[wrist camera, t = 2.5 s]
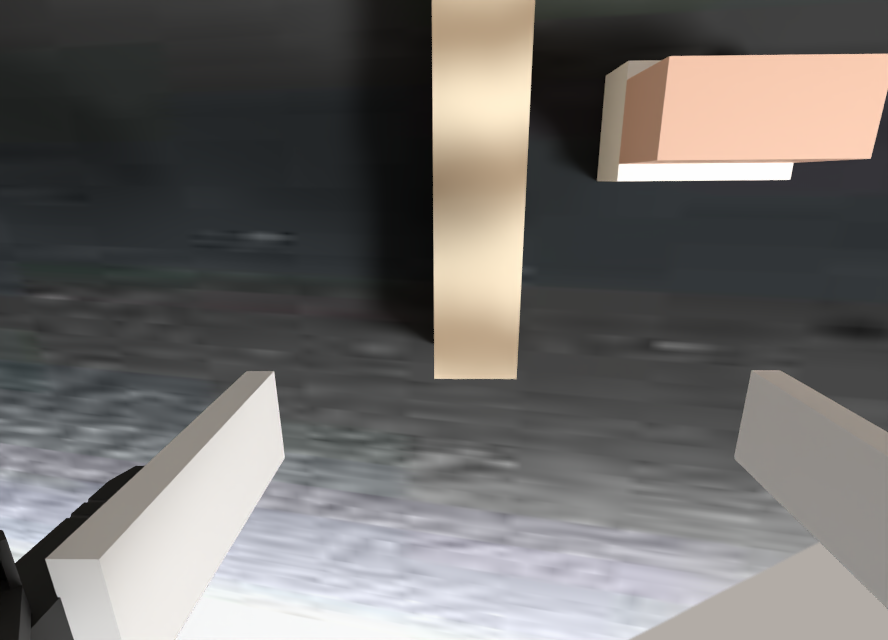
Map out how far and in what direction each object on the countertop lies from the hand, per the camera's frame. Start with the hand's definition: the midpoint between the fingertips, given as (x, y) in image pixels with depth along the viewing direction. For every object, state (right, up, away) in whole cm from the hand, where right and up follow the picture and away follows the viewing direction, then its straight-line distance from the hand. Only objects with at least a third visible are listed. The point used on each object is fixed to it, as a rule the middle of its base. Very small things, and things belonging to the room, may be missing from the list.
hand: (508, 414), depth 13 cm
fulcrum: (+10, +12, +11) cm, 19 cm away
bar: (0, +10, +12) cm, 15 cm away
